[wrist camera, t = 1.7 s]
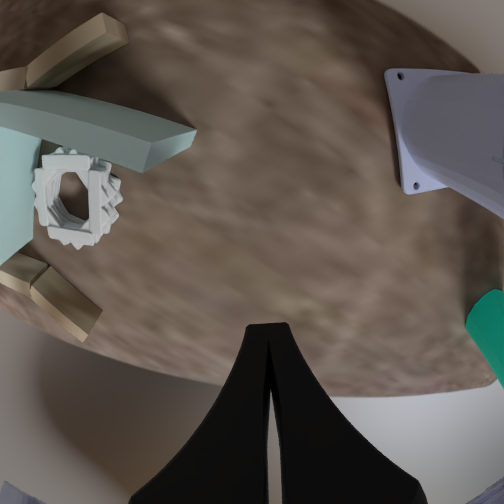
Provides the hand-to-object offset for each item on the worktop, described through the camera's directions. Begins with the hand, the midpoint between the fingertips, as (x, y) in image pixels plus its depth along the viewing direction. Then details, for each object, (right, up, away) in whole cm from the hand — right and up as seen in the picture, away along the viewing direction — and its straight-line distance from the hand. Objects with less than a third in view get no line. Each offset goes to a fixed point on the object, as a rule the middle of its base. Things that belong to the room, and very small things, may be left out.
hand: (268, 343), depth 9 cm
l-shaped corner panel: (-12, +7, +7) cm, 15 cm away
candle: (+24, -3, +12) cm, 27 cm away
